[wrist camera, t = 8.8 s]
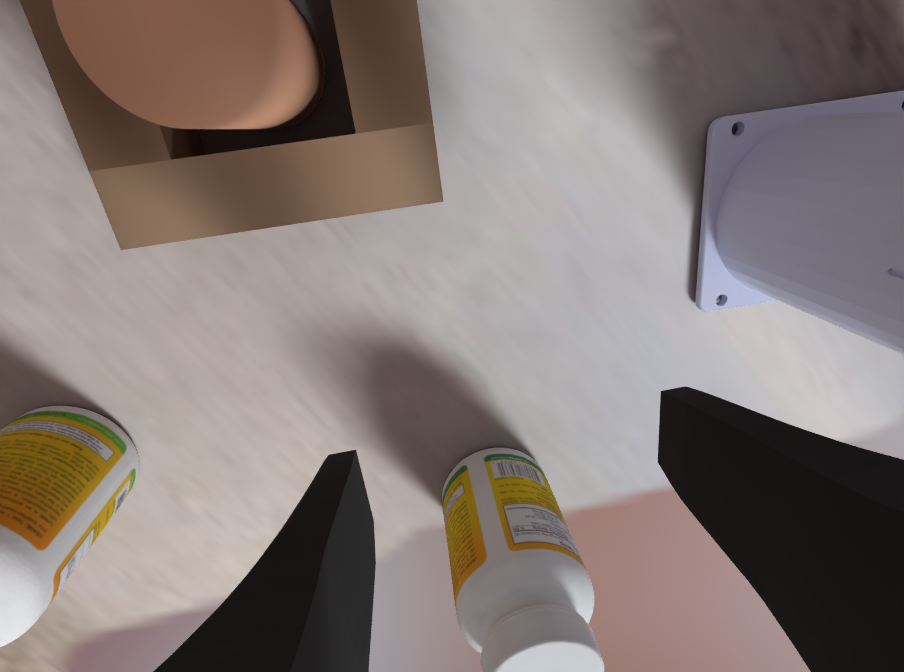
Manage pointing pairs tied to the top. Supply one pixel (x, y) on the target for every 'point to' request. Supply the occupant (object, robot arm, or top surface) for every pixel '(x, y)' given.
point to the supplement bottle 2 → (516, 568)
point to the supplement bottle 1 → (54, 503)
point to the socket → (264, 168)
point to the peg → (198, 59)
